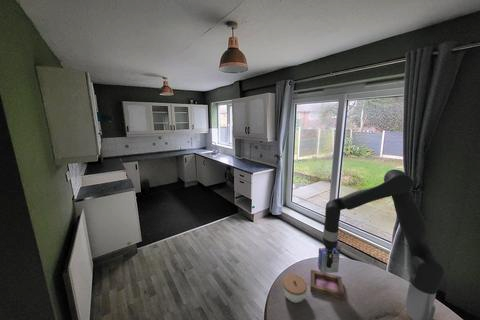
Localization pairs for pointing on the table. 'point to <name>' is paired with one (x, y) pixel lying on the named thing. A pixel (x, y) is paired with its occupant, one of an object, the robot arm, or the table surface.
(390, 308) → the table surface
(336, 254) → the ink cartridge box
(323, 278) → the picture frame
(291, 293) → the lidded bowl
